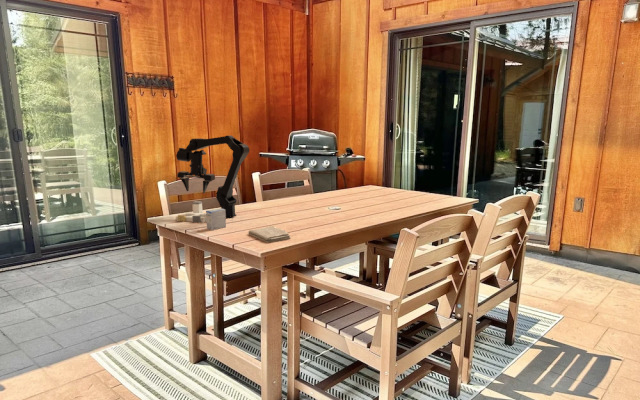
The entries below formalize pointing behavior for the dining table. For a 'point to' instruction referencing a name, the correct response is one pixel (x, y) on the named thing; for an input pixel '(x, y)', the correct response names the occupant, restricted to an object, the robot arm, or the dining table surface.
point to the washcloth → (270, 234)
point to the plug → (197, 207)
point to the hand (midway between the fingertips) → (195, 192)
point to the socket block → (192, 217)
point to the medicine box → (216, 218)
